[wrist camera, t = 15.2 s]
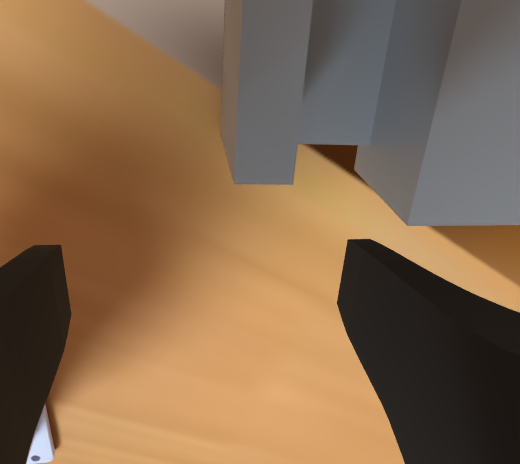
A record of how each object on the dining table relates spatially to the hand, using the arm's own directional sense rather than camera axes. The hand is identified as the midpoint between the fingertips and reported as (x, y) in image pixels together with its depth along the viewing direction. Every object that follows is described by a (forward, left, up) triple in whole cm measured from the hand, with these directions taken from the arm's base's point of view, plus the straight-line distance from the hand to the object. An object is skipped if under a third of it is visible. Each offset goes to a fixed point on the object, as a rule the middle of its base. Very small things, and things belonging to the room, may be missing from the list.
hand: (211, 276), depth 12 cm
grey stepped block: (+9, +4, -10) cm, 15 cm away
